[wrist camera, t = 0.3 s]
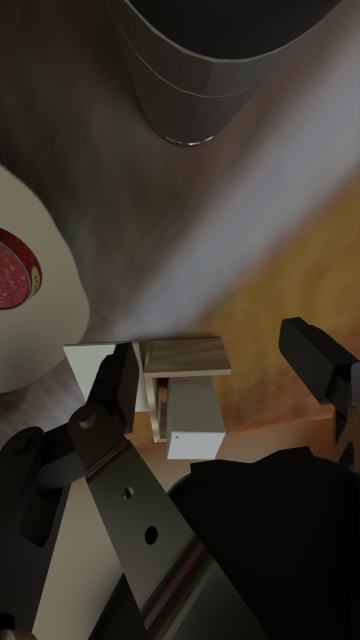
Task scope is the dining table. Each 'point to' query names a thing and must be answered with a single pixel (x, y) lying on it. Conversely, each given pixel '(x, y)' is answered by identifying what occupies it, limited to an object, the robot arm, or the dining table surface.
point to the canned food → (17, 271)
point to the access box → (179, 370)
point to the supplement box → (193, 418)
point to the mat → (88, 362)
